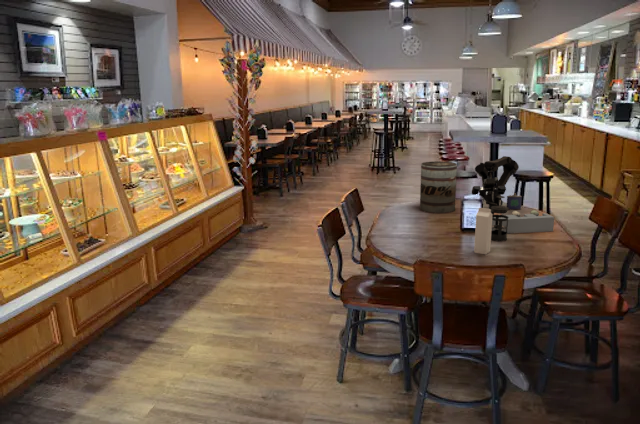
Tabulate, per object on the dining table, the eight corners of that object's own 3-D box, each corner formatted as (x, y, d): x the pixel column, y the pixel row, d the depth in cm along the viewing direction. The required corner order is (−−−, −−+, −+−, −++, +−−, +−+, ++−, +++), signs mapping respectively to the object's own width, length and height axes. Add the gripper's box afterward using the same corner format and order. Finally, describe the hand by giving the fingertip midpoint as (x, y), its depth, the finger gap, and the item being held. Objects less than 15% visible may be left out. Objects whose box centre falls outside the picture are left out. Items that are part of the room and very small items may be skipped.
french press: (506, 236, 277) (509, 194, 272) (509, 241, 268) (513, 198, 263) (483, 235, 279) (486, 194, 274) (486, 240, 270) (489, 198, 265)
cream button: (511, 217, 295) (512, 211, 294) (517, 216, 295) (518, 210, 294) (515, 219, 290) (516, 213, 289) (521, 218, 291) (522, 212, 290)
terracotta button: (493, 218, 294) (493, 211, 293) (499, 217, 294) (499, 211, 293) (496, 220, 289) (497, 213, 288) (503, 219, 289) (503, 213, 289)
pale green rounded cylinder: (530, 216, 296) (530, 210, 295) (536, 216, 296) (536, 209, 295) (534, 218, 291) (534, 212, 290) (540, 218, 292) (540, 211, 291)
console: (490, 229, 290) (491, 215, 288) (544, 226, 293) (545, 213, 292) (497, 234, 282) (498, 219, 280) (553, 231, 285) (554, 217, 283)
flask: (520, 208, 335) (521, 192, 333) (521, 210, 333) (522, 193, 330) (505, 209, 336) (506, 192, 333) (507, 210, 333) (508, 193, 330)
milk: (478, 249, 257) (480, 206, 252) (490, 251, 254) (493, 207, 248) (473, 252, 252) (476, 208, 247) (486, 254, 249) (488, 210, 244)
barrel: (413, 210, 337) (414, 164, 329) (429, 203, 354) (431, 160, 346) (445, 215, 323) (447, 167, 316) (460, 208, 340) (462, 163, 333)
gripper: (473, 172, 302) (476, 194, 294) (506, 172, 300) (510, 194, 292) (470, 183, 311) (473, 205, 303) (501, 183, 310) (505, 205, 302)
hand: (490, 202), depth 300 cm, fingers open, 3 cm apart
